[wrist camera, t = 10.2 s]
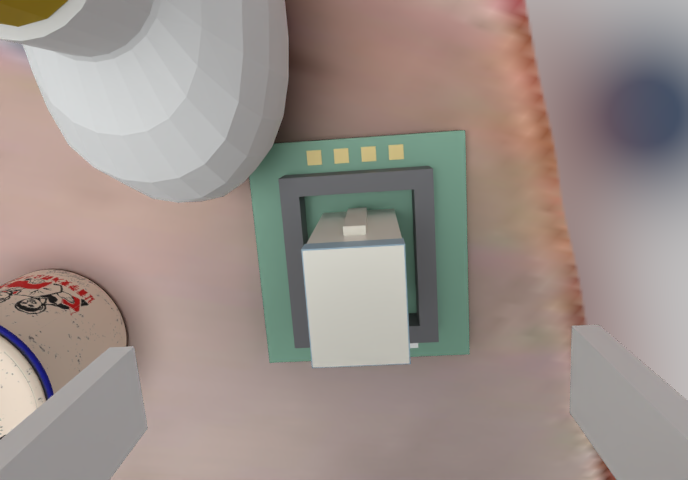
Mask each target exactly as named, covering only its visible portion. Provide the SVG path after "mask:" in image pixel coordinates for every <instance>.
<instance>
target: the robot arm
mask: <svg viewBox="0 0 688 480" xmlns="http://www.w3.org/2000/svg"><path fill="white" fill-rule="evenodd" d="M570 414H571V415H572V417H573V418H574V420H575V421H576V423H577V424H578V425H579V427H580V428H581V430H582V431H583V433H584V434H585V435H586V437H587V438H588V440H589V441H590V443H591V444H592V445H593V447H594V448H595V450H596V451H597V453H598V454H599V455H600V457H601V458H602V460H603V461H604V463H605V464H606V465H607V467H608V468H609V470H610V471H611V473H612V474H613V475H614V477H615V478H616V480H688V401H687V400H686V399H685V398H684V397H682V395H680V394H679V393H678V392H677V391H676V390H675V389H673V388H672V387H671V386H670V385H669V384H668V383H666V382H665V381H664V380H663V379H662V378H661V377H659V376H658V375H657V374H656V373H655V372H654V371H653V370H651V369H650V368H649V367H648V366H646V365H645V364H644V363H643V362H642V361H641V360H640V359H638V358H637V357H636V356H635V355H634V354H633V353H631V352H630V351H629V350H628V349H627V348H626V347H625V346H623V345H622V344H621V343H620V342H619V341H618V340H616V339H615V338H614V337H613V336H612V335H610V333H608V332H607V331H606V330H605V329H604V328H602V327H601V326H600V325H581V326H572V340H571V382H570ZM147 428H148V427H147V421H146V415H145V409H144V403H143V397H142V391H141V385H140V379H139V373H138V367H137V361H136V355H135V349H134V346H130V347H109V348H108V349H107V350H106V351H105V352H104V353H102V354H101V355H100V356H99V357H98V358H96V359H95V360H94V361H93V362H92V363H91V364H89V365H88V366H87V367H86V368H85V369H83V370H82V371H81V372H80V373H79V374H78V375H76V376H75V377H74V378H73V379H72V380H70V381H69V382H68V383H67V384H66V385H65V386H63V387H62V388H61V389H60V390H59V391H57V392H56V393H55V394H54V395H53V396H52V397H50V398H49V399H48V400H47V401H46V402H44V403H43V404H42V405H41V406H40V407H38V408H37V409H36V410H35V411H34V412H33V413H31V414H30V415H29V416H28V417H27V418H25V419H24V420H23V421H22V422H21V423H20V424H18V425H17V426H16V427H15V428H14V429H12V430H11V431H10V432H9V433H8V434H7V435H4V436H2V437H0V480H110V479H111V477H112V476H113V474H114V473H115V472H116V470H117V469H118V468H119V466H120V465H121V464H122V462H123V461H124V460H125V458H126V457H127V456H128V454H129V453H130V451H131V450H132V449H133V447H134V446H135V445H136V443H137V442H138V441H139V439H140V438H141V437H142V435H143V434H144V433H145V431H146V430H147Z"/></svg>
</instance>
